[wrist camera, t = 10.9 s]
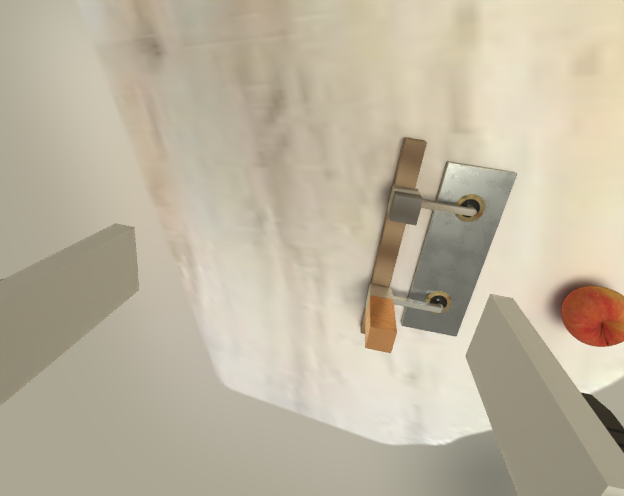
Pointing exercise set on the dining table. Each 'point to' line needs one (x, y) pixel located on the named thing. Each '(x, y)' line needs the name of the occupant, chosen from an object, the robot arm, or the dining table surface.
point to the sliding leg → (387, 316)
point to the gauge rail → (396, 227)
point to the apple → (594, 315)
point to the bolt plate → (457, 245)
